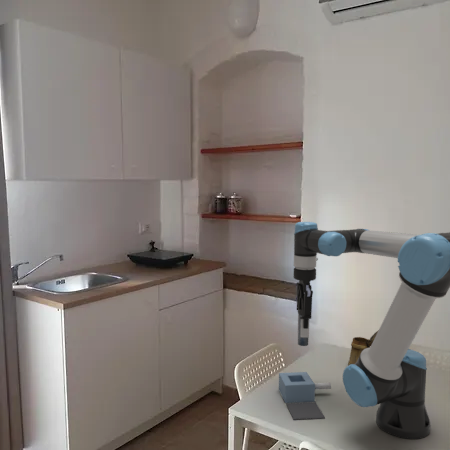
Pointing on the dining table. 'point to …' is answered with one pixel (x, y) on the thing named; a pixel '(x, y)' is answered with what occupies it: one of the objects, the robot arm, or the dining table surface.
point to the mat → (305, 411)
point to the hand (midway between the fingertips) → (303, 334)
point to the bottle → (301, 340)
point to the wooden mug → (359, 347)
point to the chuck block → (299, 387)
